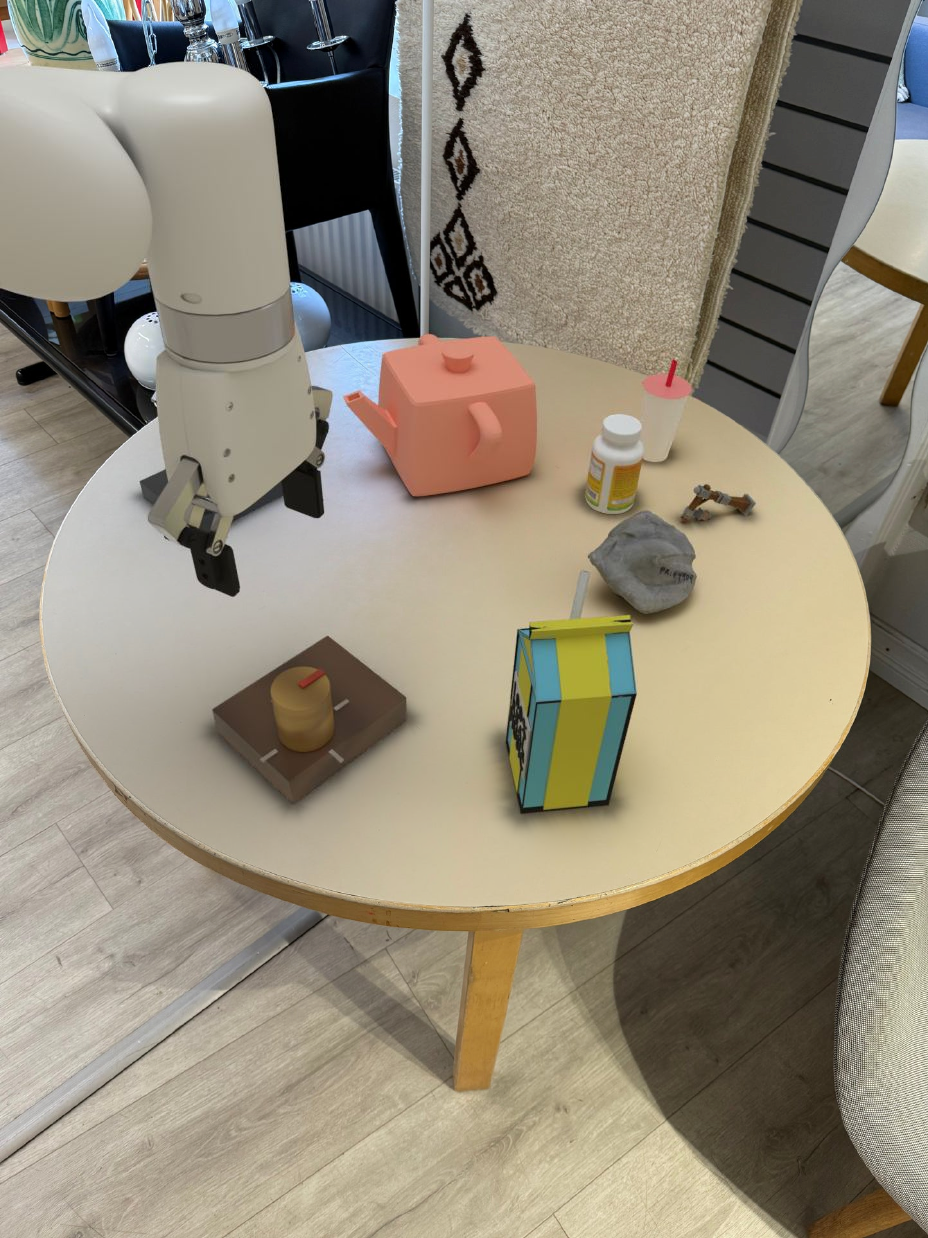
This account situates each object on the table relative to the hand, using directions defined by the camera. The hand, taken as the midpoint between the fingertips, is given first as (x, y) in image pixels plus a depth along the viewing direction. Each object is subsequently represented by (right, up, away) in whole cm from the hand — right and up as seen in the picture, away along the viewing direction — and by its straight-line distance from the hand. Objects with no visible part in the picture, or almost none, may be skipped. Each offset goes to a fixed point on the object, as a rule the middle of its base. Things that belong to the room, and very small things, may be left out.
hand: (264, 547), depth 64 cm
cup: (+36, +14, +42) cm, 57 cm away
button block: (-12, +8, +34) cm, 37 cm away
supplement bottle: (+30, +8, +35) cm, 47 cm away
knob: (+2, -14, +7) cm, 16 cm away
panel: (+2, -14, +11) cm, 18 cm away
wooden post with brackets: (+41, +6, +34) cm, 54 cm away
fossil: (+31, -3, +25) cm, 40 cm away
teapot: (+11, +12, +39) cm, 43 cm away
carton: (+21, -17, +9) cm, 29 cm away
